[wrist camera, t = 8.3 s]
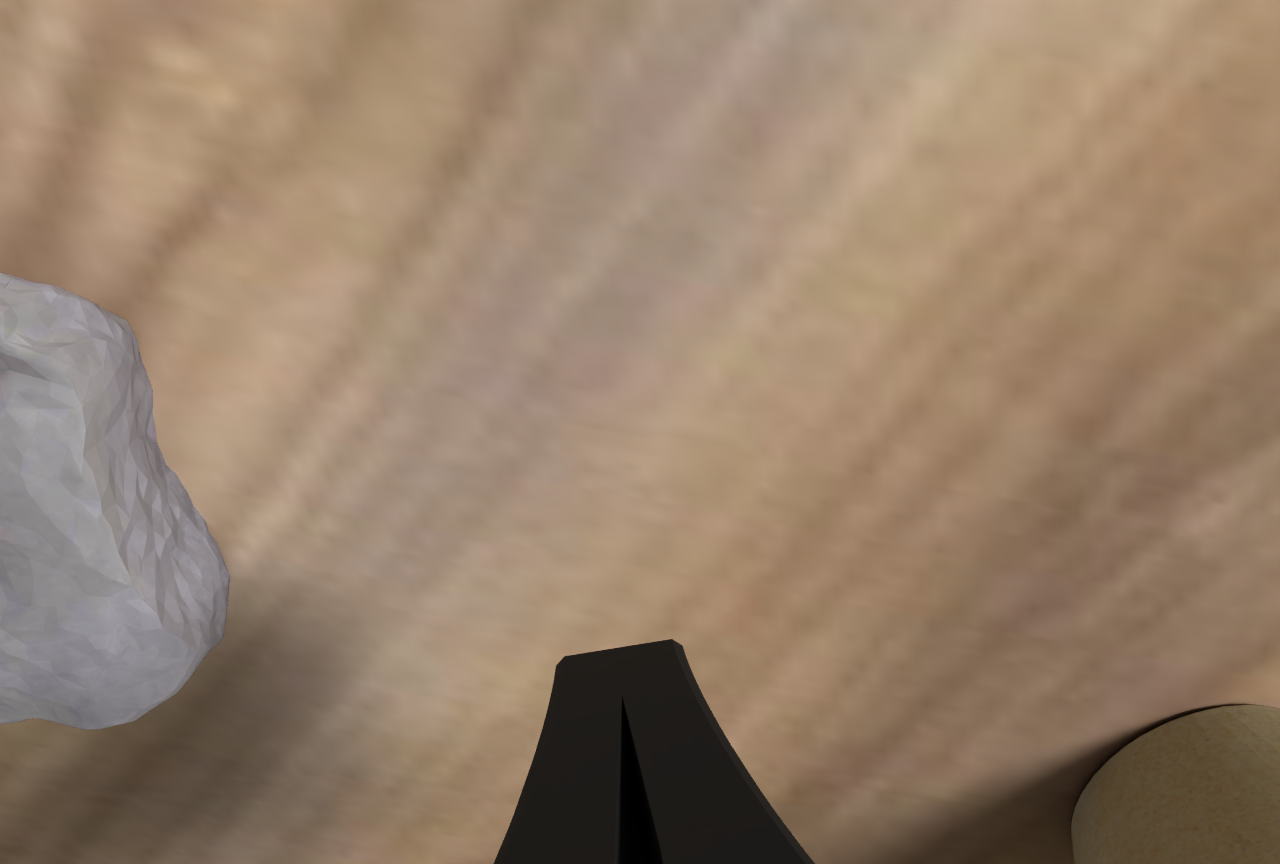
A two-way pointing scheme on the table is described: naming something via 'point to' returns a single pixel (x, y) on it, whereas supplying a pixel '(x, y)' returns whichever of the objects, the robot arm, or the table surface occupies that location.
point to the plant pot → (1187, 794)
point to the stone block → (92, 524)
